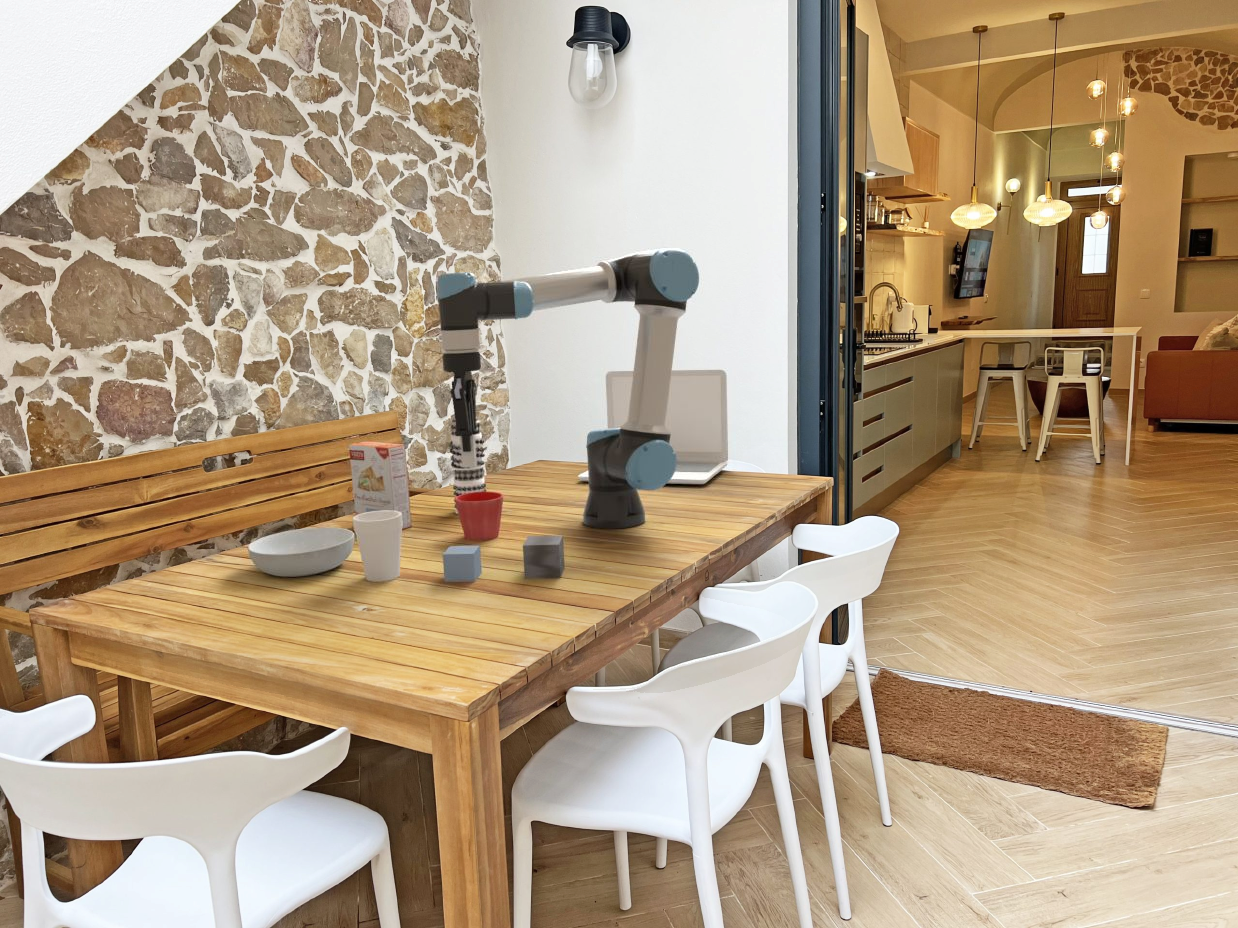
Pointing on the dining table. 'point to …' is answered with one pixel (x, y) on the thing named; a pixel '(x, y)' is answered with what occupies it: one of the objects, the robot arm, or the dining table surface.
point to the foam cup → (379, 543)
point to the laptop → (683, 420)
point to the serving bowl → (302, 551)
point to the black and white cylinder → (467, 476)
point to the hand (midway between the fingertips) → (469, 466)
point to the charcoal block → (543, 557)
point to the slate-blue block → (462, 563)
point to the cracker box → (380, 478)
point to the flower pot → (480, 514)
